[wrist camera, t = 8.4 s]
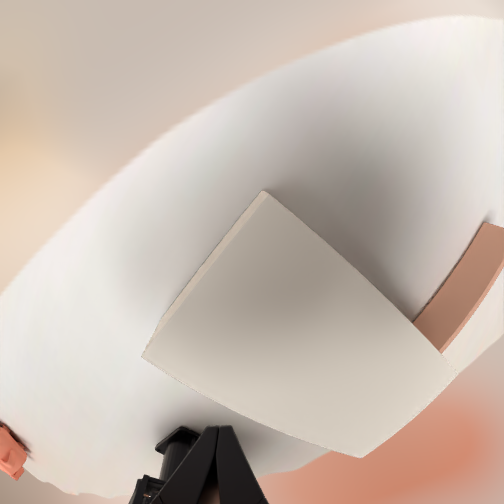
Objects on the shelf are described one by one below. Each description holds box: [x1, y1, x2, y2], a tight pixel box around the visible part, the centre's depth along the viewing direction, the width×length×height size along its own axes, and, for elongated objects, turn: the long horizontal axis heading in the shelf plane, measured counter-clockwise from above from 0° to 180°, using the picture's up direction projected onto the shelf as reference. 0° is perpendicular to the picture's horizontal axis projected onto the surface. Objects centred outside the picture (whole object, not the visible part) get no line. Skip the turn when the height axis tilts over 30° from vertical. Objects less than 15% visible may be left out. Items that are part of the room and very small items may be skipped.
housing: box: [141, 191, 459, 458], centre depth 18 cm, size 12×22×5 cm, turn 51°
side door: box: [412, 222, 504, 354], centre depth 17 cm, size 1×12×4 cm, turn 141°
